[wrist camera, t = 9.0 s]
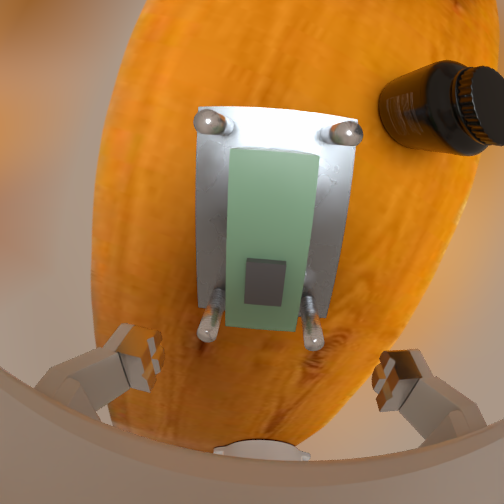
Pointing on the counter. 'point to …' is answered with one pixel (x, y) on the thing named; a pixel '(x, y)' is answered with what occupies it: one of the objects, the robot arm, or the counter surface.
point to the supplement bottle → (445, 108)
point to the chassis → (325, 211)
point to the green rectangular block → (268, 235)
